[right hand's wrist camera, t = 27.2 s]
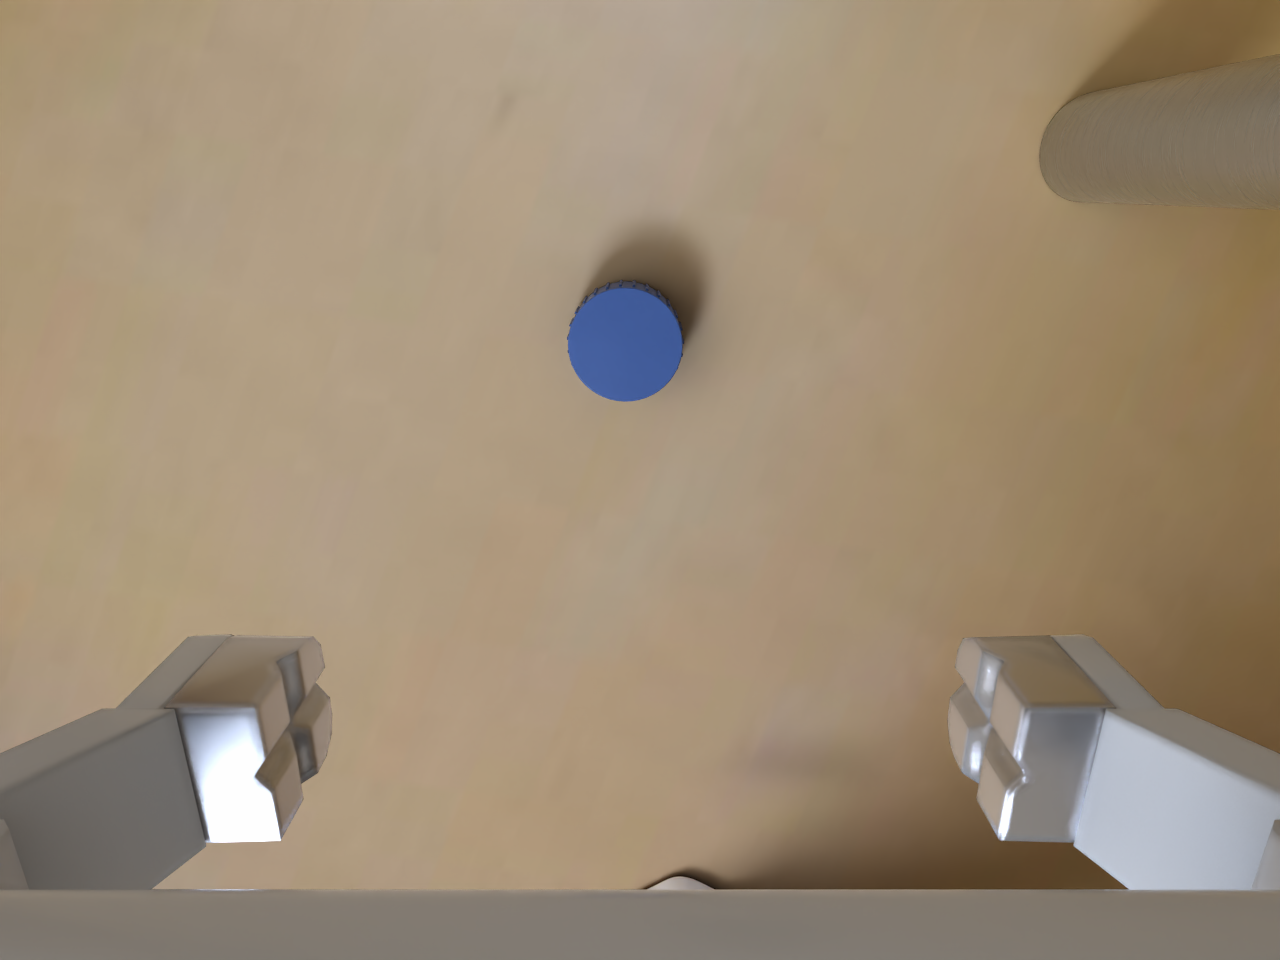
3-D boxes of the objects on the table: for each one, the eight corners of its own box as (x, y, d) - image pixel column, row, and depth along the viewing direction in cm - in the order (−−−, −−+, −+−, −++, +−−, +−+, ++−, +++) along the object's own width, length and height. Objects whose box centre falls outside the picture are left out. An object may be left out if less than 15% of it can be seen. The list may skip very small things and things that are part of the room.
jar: (1139, 194, 33) (1532, 202, 19) (1037, 209, 34) (1346, 227, 19) (1147, 84, 32) (1578, -2, 17) (1040, 100, 32) (1377, 28, 17)
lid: (577, 271, 34) (573, 276, 32) (690, 288, 35) (693, 295, 33) (564, 381, 36) (559, 394, 34) (672, 397, 36) (673, 411, 34)
